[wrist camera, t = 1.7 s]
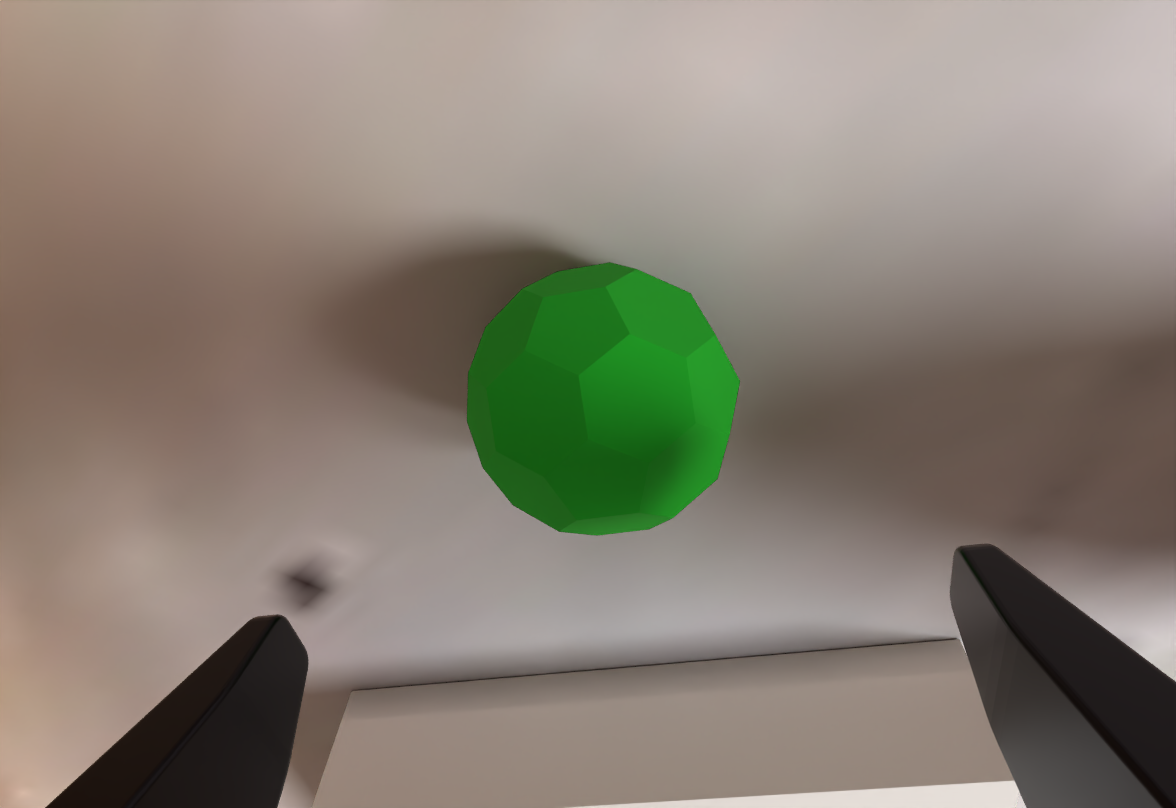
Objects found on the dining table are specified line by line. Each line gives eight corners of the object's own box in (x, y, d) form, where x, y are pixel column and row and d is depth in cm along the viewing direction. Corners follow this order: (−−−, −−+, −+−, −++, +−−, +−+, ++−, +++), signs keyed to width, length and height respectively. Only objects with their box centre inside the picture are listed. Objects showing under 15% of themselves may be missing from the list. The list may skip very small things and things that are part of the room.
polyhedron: (710, 205, 14) (743, 324, 10) (735, 414, 17) (768, 572, 13) (459, 251, 15) (400, 378, 11) (520, 444, 18) (491, 602, 14)
